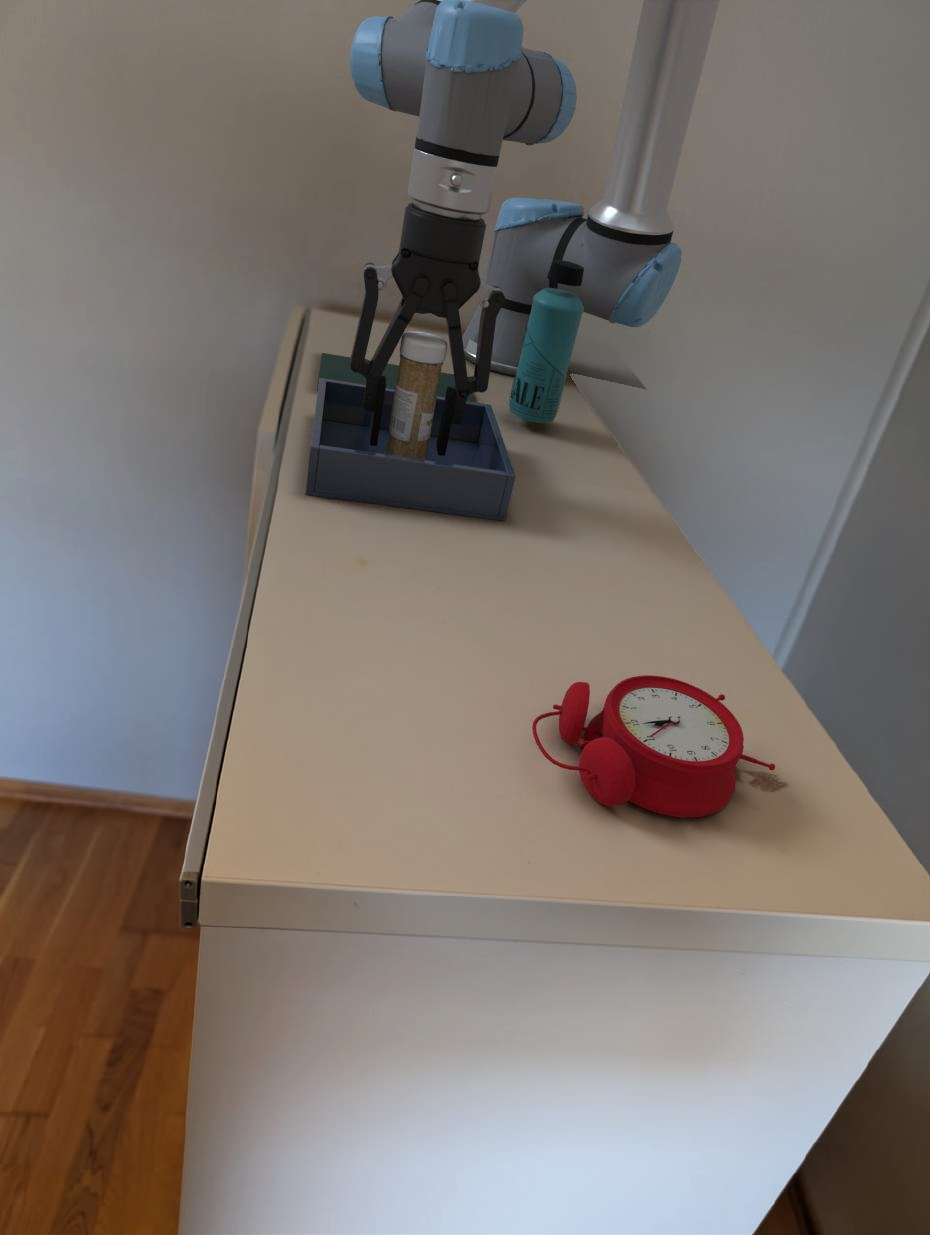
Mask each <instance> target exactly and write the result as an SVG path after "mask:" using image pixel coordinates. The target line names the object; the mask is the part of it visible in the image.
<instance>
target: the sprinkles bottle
mask: <svg viewBox="0 0 930 1235" xmlns="http://www.w3.org/2000/svg"><path fill="white" fill-rule="evenodd" d="M447 352H448V342H447V341H446V339H444V338H443V337H441V336H439V335H436V334H433V333H430V332H424V331H418V330H417V331H416V330H415V331H414V330H411V331H405V332H404V333H403V335H402V337H401V338H400V345H399V353H400V354H399V363H398V365H399V370H398V376H397V382H396V385H395V391H394V398H393V405H392V411H391V418H390V425H389V437H388V445H387V450H386V453H385V454H386V455H393V456H399V457H406V458H413V459H420V460H426V454H427V448H428V443H429V438H430V434H431V428H432V421H433V416H434V410H435V404H436V399H437V390H438V384H439V379H440V373H441V372H442V367H443V365H444V362H445V361H446V357H447Z"/></svg>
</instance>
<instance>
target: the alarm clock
mask: <svg viewBox="0 0 930 1235" xmlns="http://www.w3.org/2000/svg"><path fill="white" fill-rule="evenodd" d="M590 687H591V686H590V684H589V682H586V681H577V682H574V683H572V684H571V685H570V686H569V687H568V688H567V690H566V692H565V693H564V696H563V699H562V702H561V705H559V704H553V705H552V708H553V710H557V711H550V712H546V713H542V714H540V715H538V716H537V717H536V718H535V719H534V720H533V722H532V727H531V730H532V736H533V738H534V741H535V743H536V745H537V747H538V749H539V751H540V752H541V754H542V755H543V757H545V759H546V760H548V761H549V762H550V763H551V764H553V765H554V766H557V767H559V768H562V769H564V770H565V769H566V770H570V771H578V772H579V776H580V780H581V782H582V785H583V787H584V789H585V790H586V791H587V792H588V794H589V795H590V796H591V797H592V798H593V799H594V800H595V801H596V802H597V803H600V804H602V805H605V806H607V807H617V806H620V805H624V804H626V803H627V802H628V801H629V802H630V803H633V804H635V805H636V806H638V807H641V808H642V809H646V810H647V811H650V812H654V813H658V814H660V815H664V816H671V817H675V818H676V817H677V818H698V817H705V816H709V815H711V814H715V813H716V812H719V811H721V809H723V808H724V807H725V806H726V805H728V803H729V802H730V800H731V799H732V797H733V795H734V793H735V791H736V787H737V773H736V766H737V764H738V762H739V760H742V761H743V760H744V761H746V762H750V763H752V764H756V765H759V766H762V767H766V768H768V769H769V771H775V769H776V765H775V763H767V762H763V761H761V760H758V759H757V758H755V757H752V756H749V755H746V754H743V752H744V740H745V737H744V733H743V732H744V731H743V729H742V726H741V725H740V723H739V721H738V719H737V717H736V716H735V715H734V714H733V713H732V711H731V710H730V709H729V708H728V707H727V706H726V705H724V704H723V702H721V701H725V700H726V695H725V694H723V693H721V694H719V695H718V696H717V697H714V696H713V695H712V694H710V693H708V692H707V691H704V690H703V689H701V688H699V687H697V686H695V685H693V684H691V683H689V682H685V681H683V680H679V679H676V678H673V677H672V678H671V677H667V676H661V675H649V674H648V675H647V674H644V675H636V676H635V675H634V676H631V677H627V678H626V679H622V680H621V681H620V682H618V683H616V685H615V686H614V687H613V688H612V689H611V690H610V691H609V693H608V694H607V696H606V699H605V702H604V705H603V709H602V710H601V711H600V712H599V713H598V714H596V715H594V717H592V719H591V720H590V721H589V722H588V724H587V726H586V727H585V725H586V720H587V716H588V711H589V705H590V697H591V689H590ZM554 716H558V731H559V735H560V737H561V740H563V742H564V743H567V744H569V745H571V746H577V745H578V744H579V745H580V747H581V748H583V749H582V751H581V753H580V756H579V758H578V759H579V760H578V765H570V764H567V763H562V762H559V761H558V760H556V759H554V758H553V757H552V756H551V755H550V754H549V753H548V752H547V751H546V749H545V747H544V746H543V745H542V742H541V740H540V738H539V735H538V731H537V725H538V723H539V721H541V720H543V719H545V718H548V717H554ZM583 732H584V734H583ZM582 735H583V738H581V737H582Z"/></svg>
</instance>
